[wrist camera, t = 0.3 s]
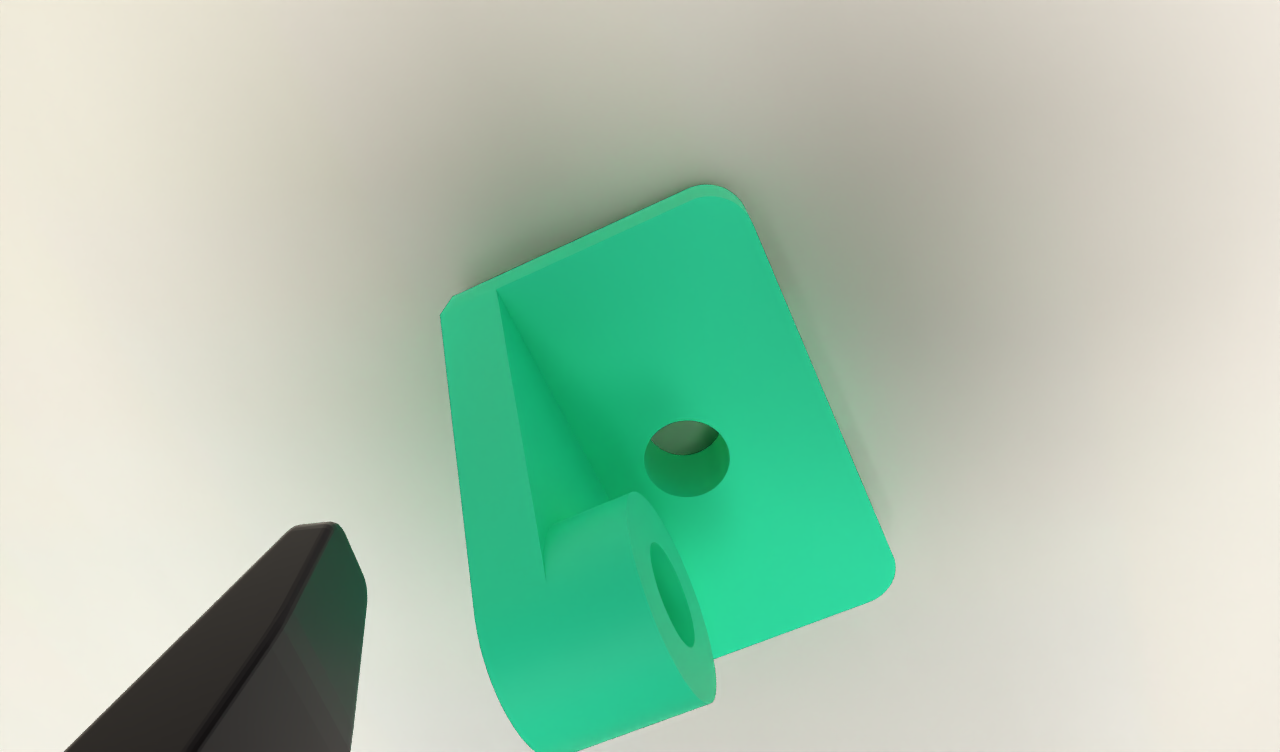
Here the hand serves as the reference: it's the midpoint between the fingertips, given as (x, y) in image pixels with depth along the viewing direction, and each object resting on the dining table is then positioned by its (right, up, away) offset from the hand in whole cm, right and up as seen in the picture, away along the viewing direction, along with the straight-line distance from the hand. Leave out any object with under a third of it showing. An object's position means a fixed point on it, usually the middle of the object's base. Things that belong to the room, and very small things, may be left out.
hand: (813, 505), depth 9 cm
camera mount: (0, 0, +17) cm, 17 cm away
